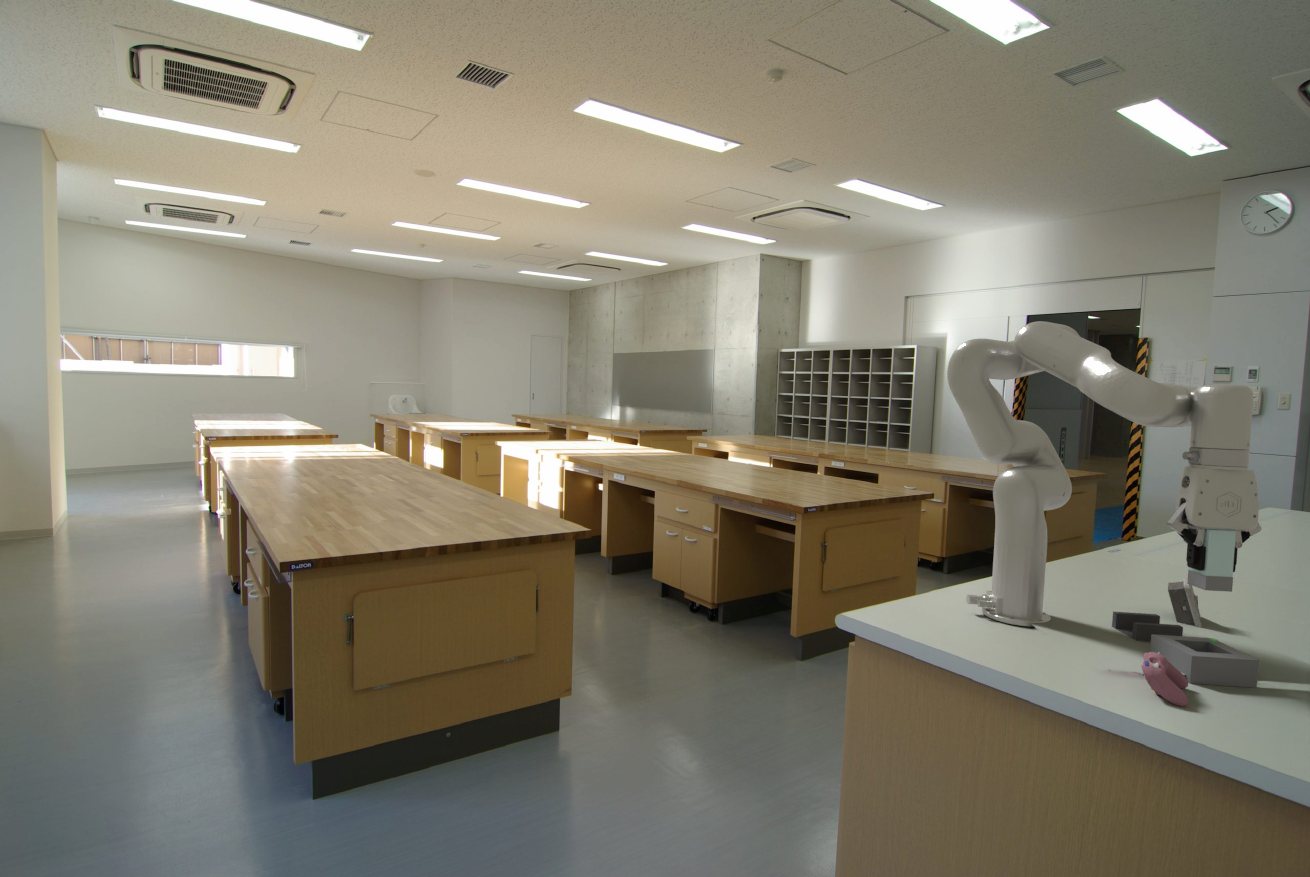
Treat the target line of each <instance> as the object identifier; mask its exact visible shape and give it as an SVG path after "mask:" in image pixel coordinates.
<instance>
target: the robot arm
mask: <svg viewBox="0 0 1310 877" xmlns="http://www.w3.org/2000/svg"><path fill="white" fill-rule="evenodd" d="M947 365H948V366H947V370H946V371H947V372H946V374H947V384H948V387H949V389H950V392H951V393H952V396H953V397H954V399H955V402H956V404H957V405H958V407H959V410H960V411H961V412H962V415H963V417H964V419H965V422H966V424H967V426H968V428H969V430H970V433H971V434H972V436H973V439H974V441H975V442H976V444H977V447H978V449H979V451H980V453H981V454H982V456H983V457H984V459H985V460H987V461H988V462H990V463H992V464H995V465H997V464H998V465H1012V467H1010V468H1008V469H1005V470H1003V471H1002V472H1001V473H1000V474H999V475H998V476H997V478H996V479H995V481H994V483H993V488H992V498H993V506H994V514H995V515H994V516H995V518H994V519H995V523H994V525H995V526H994V527H995V528H994V543H993V544H994V546H993V547H994V548H993V561H992V577H991V588H990V589H991V590H986V593H985V594H981V595H977V594H967V595H966V597H965V598H966V599H965V600H966V603H967V605H976V606H977V607H980V608H981V613H982V614H983V615H984V616H985V617H987V618H989V619H991V620H994V621H998V622H1001V623H1005V624H1007V625H1009V624H1010V625H1014V626H1019V627H1027V628H1028V627H1030V628H1035V627H1036V626H1034V624H1046V623H1048V622H1050V621H1051V620H1052V618H1051V616H1050V614H1048V613H1046V612H1044V611H1043V609H1044V608H1043V607H1044V596H1045V581H1046V568H1047V567H1046V566H1047V555H1048V554H1047V551H1048V525H1047V521H1046V516H1045V511H1052V510H1057V509H1060V508H1061V507H1063V506H1064V505H1066V504H1067V503H1068V501H1069V500H1071V499H1070V498H1071V497H1072V496H1071V495H1072V493H1073V492H1072V491H1073V485H1072V481H1071V479H1070V478H1071V477H1070V476H1069V473H1068V471H1067V469H1066V468H1065V465H1064V463H1063V462H1062V460H1061V458H1060V456H1059V454H1058V453H1057V451H1056V448H1055V447H1054V445H1053V443H1052V441H1051V439H1050V437H1049V436H1048V434H1047V433H1046V432H1045V431H1044V430H1043V429H1042V428H1041V427H1040V426H1039V425H1037V424H1036V423H1034V422H1032V421H1027V420H1019V419H1015V418H1014V416H1013V415H1012V413H1011V411H1010V409H1009V408H1008V405H1007V404H1006V402H1005V400H1004V397H1003V396H1002V394H1001V393H1000V392H999V391H998V390H997V389H996V388H995V386H994V385H993V384H992V383H991V381H990V380H997V381H998V380H999V381H1002V380H1003V381H1008V380H1014V379H1019V378H1023V377H1026V376H1031V375H1035V374H1038V373H1041V372H1046V373H1049V374H1050V375H1053V376H1054V377H1056V378H1058V379H1060V380H1061V381H1064V382H1066V383H1068V385H1069V384H1070V385H1071V386H1073V387H1075V388H1077V389H1078V390H1079V392H1081V393H1082V394H1084V395H1086V396H1087V397H1088V398H1089V399H1091V400H1092V401H1093V402H1095V403H1096V404H1098V405H1100V406H1102V407H1103V408H1105V409H1107V410H1109V411H1111V412H1112V413H1114V414H1116V415H1118V416H1120V417H1122V418H1124V419H1126V420H1128V421H1131V422H1133V423H1134V424H1137V425H1140V426H1145V427H1153V428H1155V427H1156V428H1183V427H1190V440H1189V448H1188V451H1183V453H1182V459H1183V460H1184V461H1185V460H1187V461H1188V465H1185V466H1184V468H1183V471H1182V475H1181V477H1180V481H1179V484H1178V490H1177V494H1176V495H1177V496H1176V502H1175V512H1174V513H1173V515H1171V517H1170V518H1169V519H1168V521H1167V522H1166V526H1167V527H1168V528H1170V529H1171V530H1173V531H1174V532H1176V533H1177V534H1178V536H1180V537H1181V538H1182V539H1183V542H1184V543H1185V544H1187V545H1186V546H1187V547H1186V548H1187V549H1186V566H1187V568H1189V567H1190V568H1193V569H1196V570H1199V571H1203V570H1204V568H1205V554H1206V547H1204V546H1202V544H1203V541H1204V537H1205V534H1206V530H1207V529H1218V530H1235V531H1236V536H1235V550H1234V564H1233V573H1235V572H1236V566H1237V563H1238V562H1237V561H1238V551H1239V550H1238V549H1241V548H1242V547H1243V544H1244V543H1246V541H1247V540H1248V539H1250V537H1252V536H1254V535H1256V534H1257V533H1260V532H1262V526H1261V525H1260V523H1259V491H1258V490H1259V489H1258V483H1257V479H1256V478H1257V477H1256V474H1255V470H1254V469H1249V465H1250V464H1249V462H1250V448H1251V436H1252V423H1253V422H1252V421H1253V411H1254V410H1253V408H1254V392H1253V389H1252V388H1251V387H1249V386H1247V385H1242V384H1204V385H1200V386H1192V385H1191V386H1188V385H1182V384H1174V383H1164V382H1158V381H1155V380H1153V379H1150V378H1148V377H1146V376H1144V375H1142V374H1140V373H1137V372H1136V371H1133V370H1130V369H1129V368H1127V367H1125V366H1123V365H1121V364H1120V363H1118V362H1117V361H1115V359H1113V358H1112V353H1111V352H1110V350H1109V349H1107V348H1106V347H1103V346H1101V345H1100V344H1097V343H1094V342H1093V341H1090V340H1087V339H1085V338H1084V337H1081V336H1080V334H1079V333H1078V332H1077V331H1076V330H1075V329H1074V328H1072V327H1071V326H1068V325H1065V324H1060V323H1055V322H1050V321H1042V320H1040V321H1039V320H1038V321H1033V322H1029V323H1027V324H1025V325H1024V326H1022V327H1021V328H1020V329H1019V330H1018V331H1017V333H1016V334H1015V336H1014V340H1011V341H1004V340H998V339H991V338H973V339H969V340H967V341H965V342H961V344H959V345H958V347H957V348H956V349H954V351H953V353H952V354H951V357H950V359H949V361H948V364H947ZM1184 525H1187V526H1184Z"/></svg>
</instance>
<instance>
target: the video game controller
mask: <svg viewBox="0 0 1310 877" xmlns="http://www.w3.org/2000/svg"><path fill="white" fill-rule="evenodd" d="M1140 667H1141V671H1142V673H1143V676H1144V678H1145V680H1146V682H1147V684H1148V686H1149V687H1150V689H1151V690H1152V691H1154V693H1155V695H1156V696H1161V697H1162V698H1164V700H1166V701H1167V702H1170V703H1171V704H1172V705H1175V706H1177V707H1183V708H1184V707H1186V706H1187V705H1188V704H1189V698H1188V697H1187V694H1185V692H1184V691H1183V689H1186V688H1188V687H1189V682H1188V681H1187V679H1186V677H1185V676H1184V675H1185V674H1183V673H1182V672H1180V671H1179V670H1177V669H1176V668H1175V667H1174V666H1173V665H1172V664H1171V663H1170V662H1169V661H1168V660H1167V659H1166V658H1165V656H1163V655H1161V653H1160V652H1158V653H1155V652H1150V651H1149V652H1144V653H1143V661H1142V664H1141V666H1140Z"/></svg>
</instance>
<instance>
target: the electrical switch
mask: <svg viewBox="0 0 1310 877" xmlns="http://www.w3.org/2000/svg"><path fill="white" fill-rule="evenodd" d="M1187 582H1188V577H1183V581H1176V582H1175V581H1174V582H1168V584H1167V592H1168V594H1169V595H1168V596H1169V599H1170V602H1171V606H1172V609H1173V614H1174V617H1175V620H1176V623H1180V624H1184V625H1190V626H1194V627H1195V628H1202V627H1203V626H1202V625H1203V624H1202V617H1201V613H1200V609H1199V596H1198V595H1195V591H1194V588H1193V586H1192V585H1189V584H1187Z"/></svg>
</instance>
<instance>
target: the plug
mask: <svg viewBox="0 0 1310 877" xmlns="http://www.w3.org/2000/svg"><path fill="white" fill-rule="evenodd" d="M1235 536H1236V531H1235V530H1218V529H1207V530H1206V534H1205V537H1204V541H1203V544H1202V546H1204V547H1206V554H1205V568H1204V570H1203V571H1199V570H1196V569H1193V568H1190V567H1188V570H1187V573H1188V574H1187V578H1188V582H1187V584H1189V585H1192V587H1196V588H1197V589H1201V590H1203V591H1210V592H1211V591H1213V592H1229V593H1230V592H1233V586H1234V584H1233V582H1234V577H1233V575H1234V572H1233V564H1234V550H1235Z"/></svg>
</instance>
